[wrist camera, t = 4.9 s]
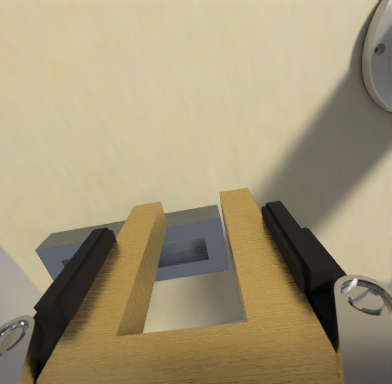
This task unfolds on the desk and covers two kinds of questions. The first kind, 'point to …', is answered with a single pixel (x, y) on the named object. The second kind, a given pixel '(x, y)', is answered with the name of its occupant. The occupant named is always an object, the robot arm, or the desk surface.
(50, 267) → the rail
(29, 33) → the desk surface
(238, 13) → the desk surface
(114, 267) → the wooden u-shaped block
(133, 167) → the desk surface
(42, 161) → the desk surface
